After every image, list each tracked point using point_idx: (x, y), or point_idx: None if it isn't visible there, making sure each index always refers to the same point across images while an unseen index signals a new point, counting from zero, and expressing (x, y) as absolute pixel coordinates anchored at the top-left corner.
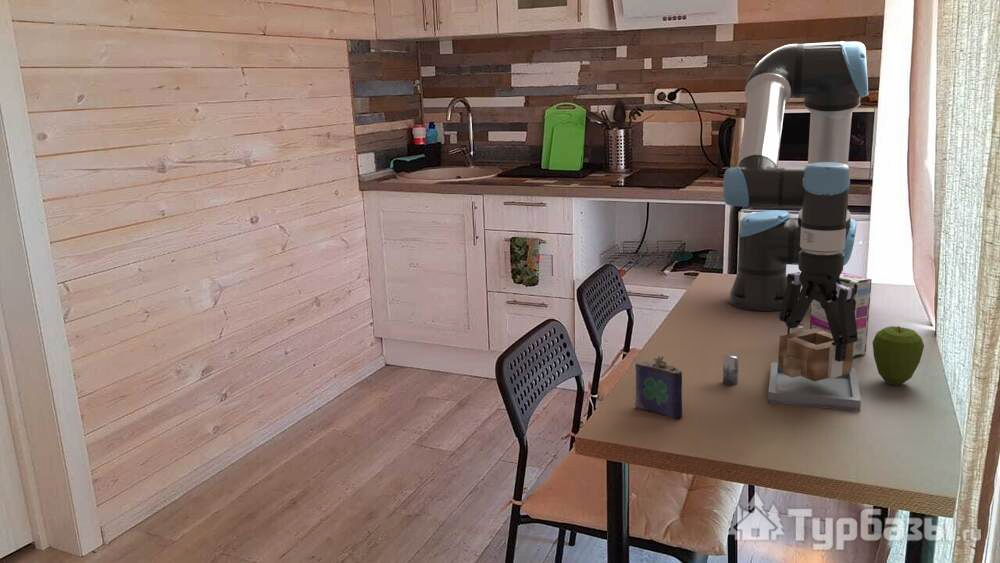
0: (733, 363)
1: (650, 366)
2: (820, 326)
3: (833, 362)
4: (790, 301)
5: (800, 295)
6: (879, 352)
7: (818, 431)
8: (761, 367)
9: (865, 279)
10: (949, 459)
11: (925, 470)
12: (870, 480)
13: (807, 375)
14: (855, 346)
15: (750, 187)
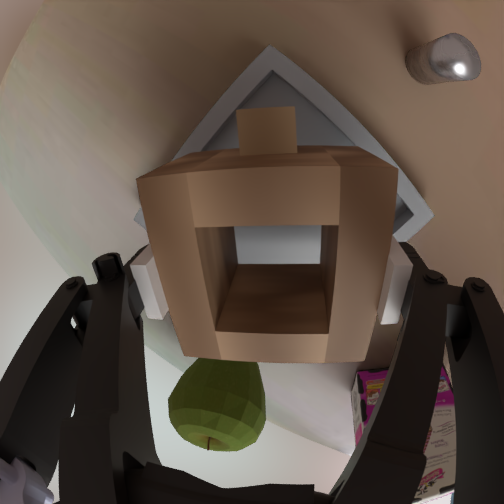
0: (434, 45)
1: None
2: None
3: None
4: (485, 388)
5: (394, 489)
6: (214, 379)
7: (104, 74)
8: (451, 207)
9: None
10: (17, 206)
11: (5, 159)
12: (5, 81)
13: (217, 150)
14: (356, 394)
15: None
